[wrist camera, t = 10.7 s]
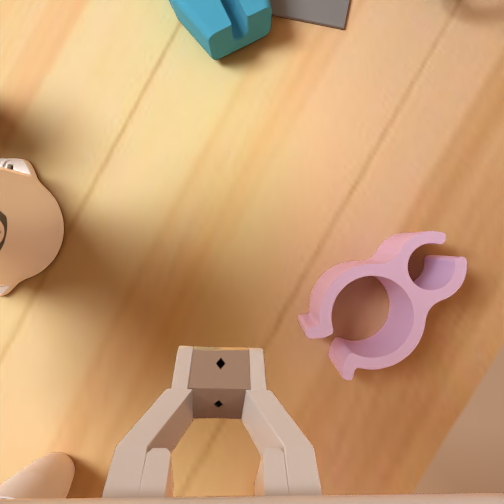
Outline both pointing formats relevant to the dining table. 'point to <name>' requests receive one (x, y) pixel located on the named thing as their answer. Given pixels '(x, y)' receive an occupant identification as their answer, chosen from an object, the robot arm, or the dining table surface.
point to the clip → (400, 298)
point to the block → (224, 23)
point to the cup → (41, 479)
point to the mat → (313, 11)
